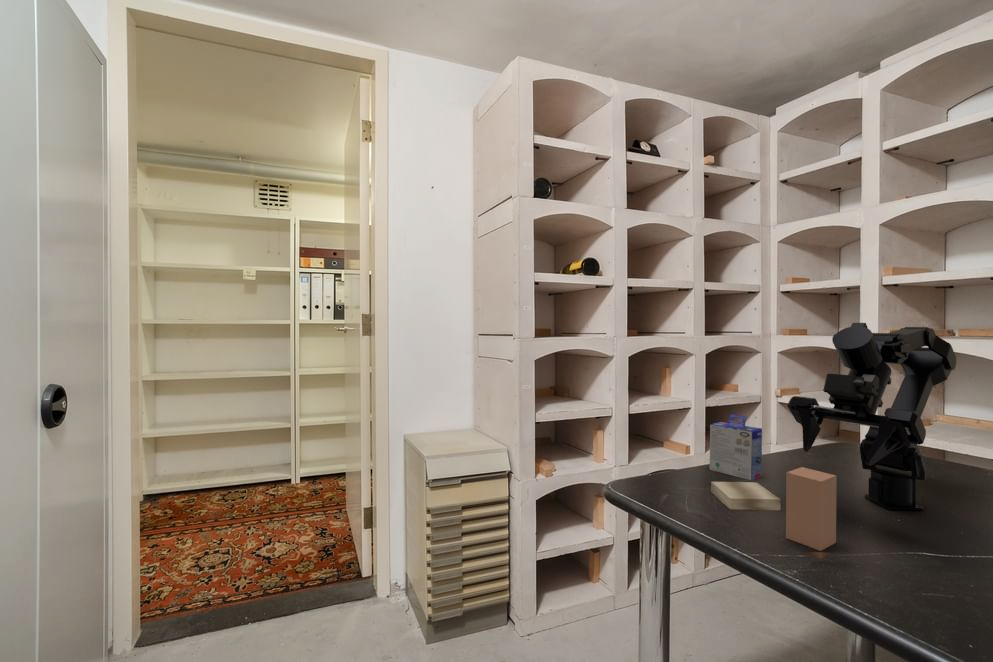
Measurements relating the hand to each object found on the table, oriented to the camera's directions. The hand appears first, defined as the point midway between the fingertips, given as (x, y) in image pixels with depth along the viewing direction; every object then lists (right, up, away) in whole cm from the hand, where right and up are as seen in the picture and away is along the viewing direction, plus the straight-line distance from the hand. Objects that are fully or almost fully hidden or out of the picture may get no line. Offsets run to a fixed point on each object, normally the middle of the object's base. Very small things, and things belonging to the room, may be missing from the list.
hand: (835, 456), depth 77 cm
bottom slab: (-9, -14, +12) cm, 20 cm away
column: (-7, -14, -4) cm, 16 cm away
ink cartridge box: (-2, -13, +29) cm, 32 cm away
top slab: (-9, -12, +12) cm, 19 cm away
